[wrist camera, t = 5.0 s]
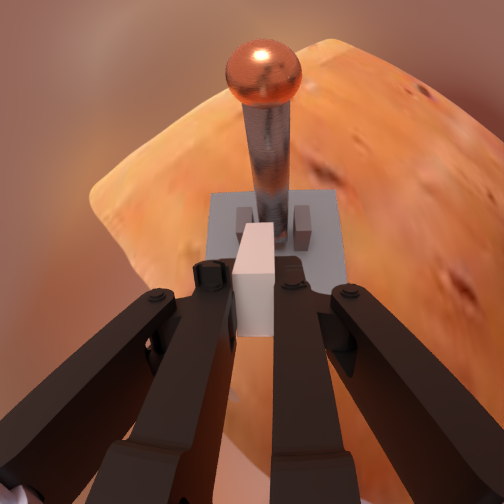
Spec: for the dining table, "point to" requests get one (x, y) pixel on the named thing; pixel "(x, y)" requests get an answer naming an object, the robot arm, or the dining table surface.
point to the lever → (267, 121)
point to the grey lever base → (299, 233)
